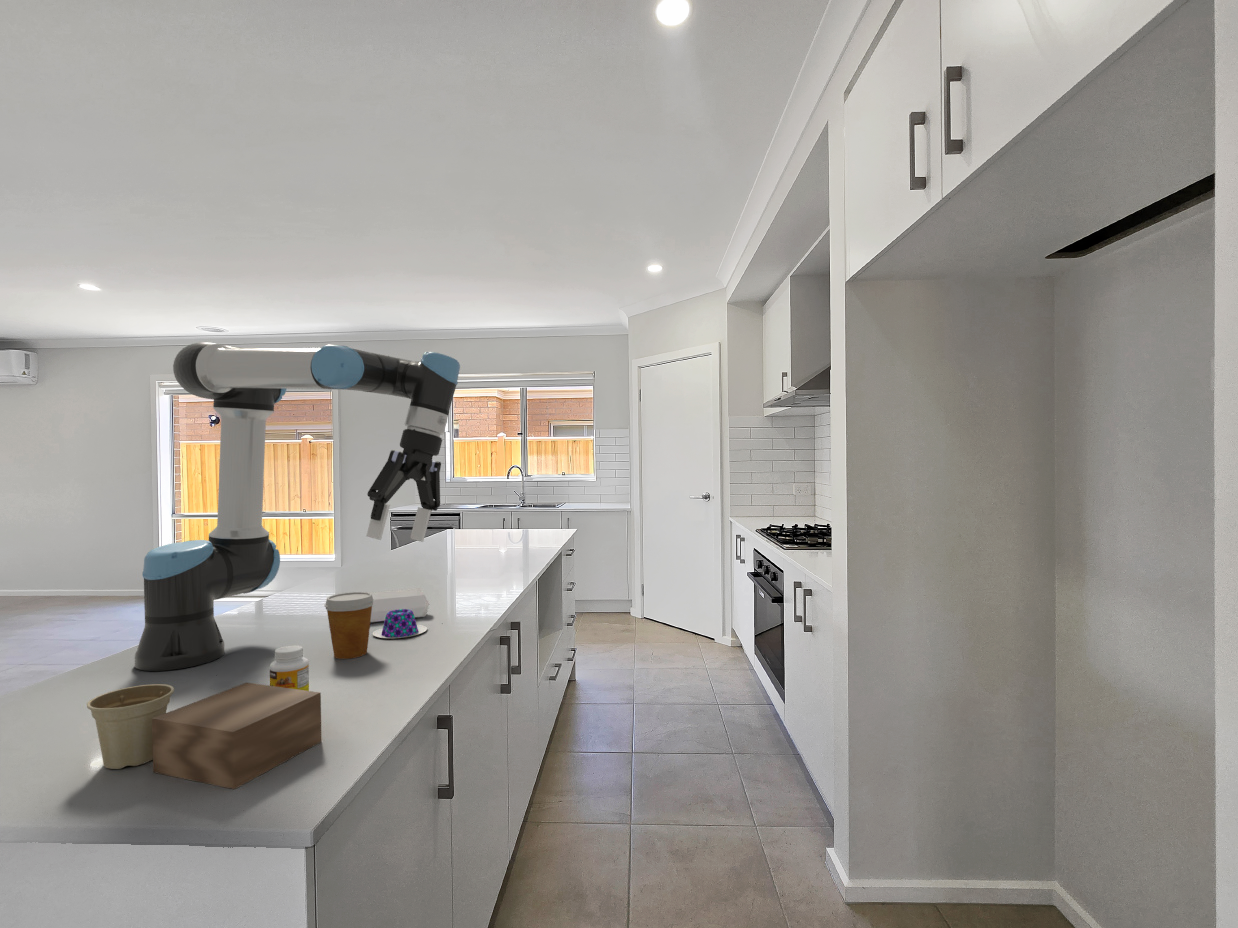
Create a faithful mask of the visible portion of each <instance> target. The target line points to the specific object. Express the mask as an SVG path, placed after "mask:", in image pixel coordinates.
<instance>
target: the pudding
mask: <svg viewBox="0 0 1238 928" xmlns="http://www.w3.org/2000/svg"><path fill="white" fill-rule="evenodd" d="M427 630H428V627H427V626H425V625H423V624H417V621H416V618H415V617H414V613H413V612H412V610H409V609H397V610H392V611H389V612H388V613H387V614H386V617H385V621H383V626H382V627H381V628H378V629H376V630H374V631H373V632H372V636H373V637H377V638H381V639H387V638H388V639H391V638H394V639H402V638H405V637H406V638H410V637H414V636H418V635H420V634H423V633H424V632H426V631H427Z"/></svg>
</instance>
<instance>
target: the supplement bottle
mask: <svg viewBox="0 0 1238 928" xmlns="http://www.w3.org/2000/svg"><path fill="white" fill-rule="evenodd" d="M303 650H304V648H303V646H301V645H285V646H281V647H279V648H276V649H275V650H274V661H272V662H271V663H270V665H269V686H276V687H283V688H290V689H298V690H305V691H310V680H309V679H310V676H309V675H310V673H309V672H310V670H309V669H310V668H309V667H310V665H309V659H308V658H306V657H304V651H303Z"/></svg>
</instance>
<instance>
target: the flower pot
mask: <svg viewBox="0 0 1238 928" xmlns="http://www.w3.org/2000/svg"><path fill="white" fill-rule="evenodd" d="M173 693H175V688H174V686H172V685H170V684H165V683H163V684H160V683H158V684H154V683H153V684H141V685H136V686H128V687H123V688H119V689H115V690H112V691H108V692H106V693H103V694H100V695H97V696H96V697H94V698H92V699H90V700H89V701H87V702H86V708H87V709H88V710H90V712H91V716H92V718H93V719H94V720H95V726H96V731H97V736H98V737H97V738H98V741H99V746H100V751H101V758H102V765H103V766H104V768H107V769H112V770H122V769H123V768H125V767H128V766H132V767H137V766H141V765H143V764H145V763H148V762H151V761H153V737H152V718H154V717H157V716H160V715H162V714H165V713H167V709H168V705H169V703H170V702H171V695H172V694H173Z"/></svg>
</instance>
